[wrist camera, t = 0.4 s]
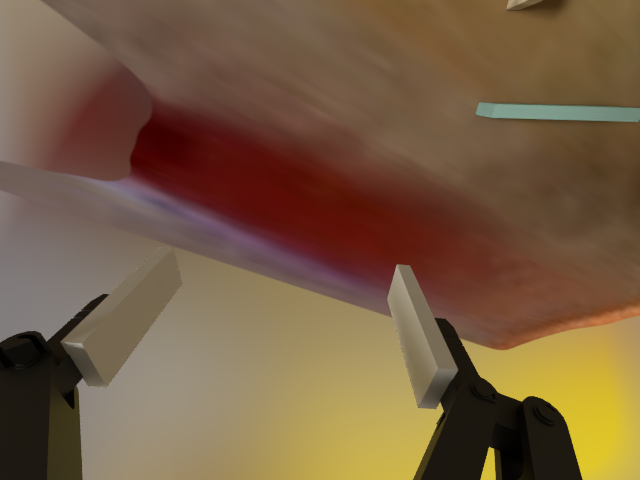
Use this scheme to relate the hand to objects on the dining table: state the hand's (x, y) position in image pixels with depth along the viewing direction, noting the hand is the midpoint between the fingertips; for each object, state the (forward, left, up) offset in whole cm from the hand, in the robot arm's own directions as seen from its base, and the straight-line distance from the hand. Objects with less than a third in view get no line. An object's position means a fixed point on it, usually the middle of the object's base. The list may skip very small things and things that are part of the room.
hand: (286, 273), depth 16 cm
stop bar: (-8, +32, -28) cm, 43 cm away
